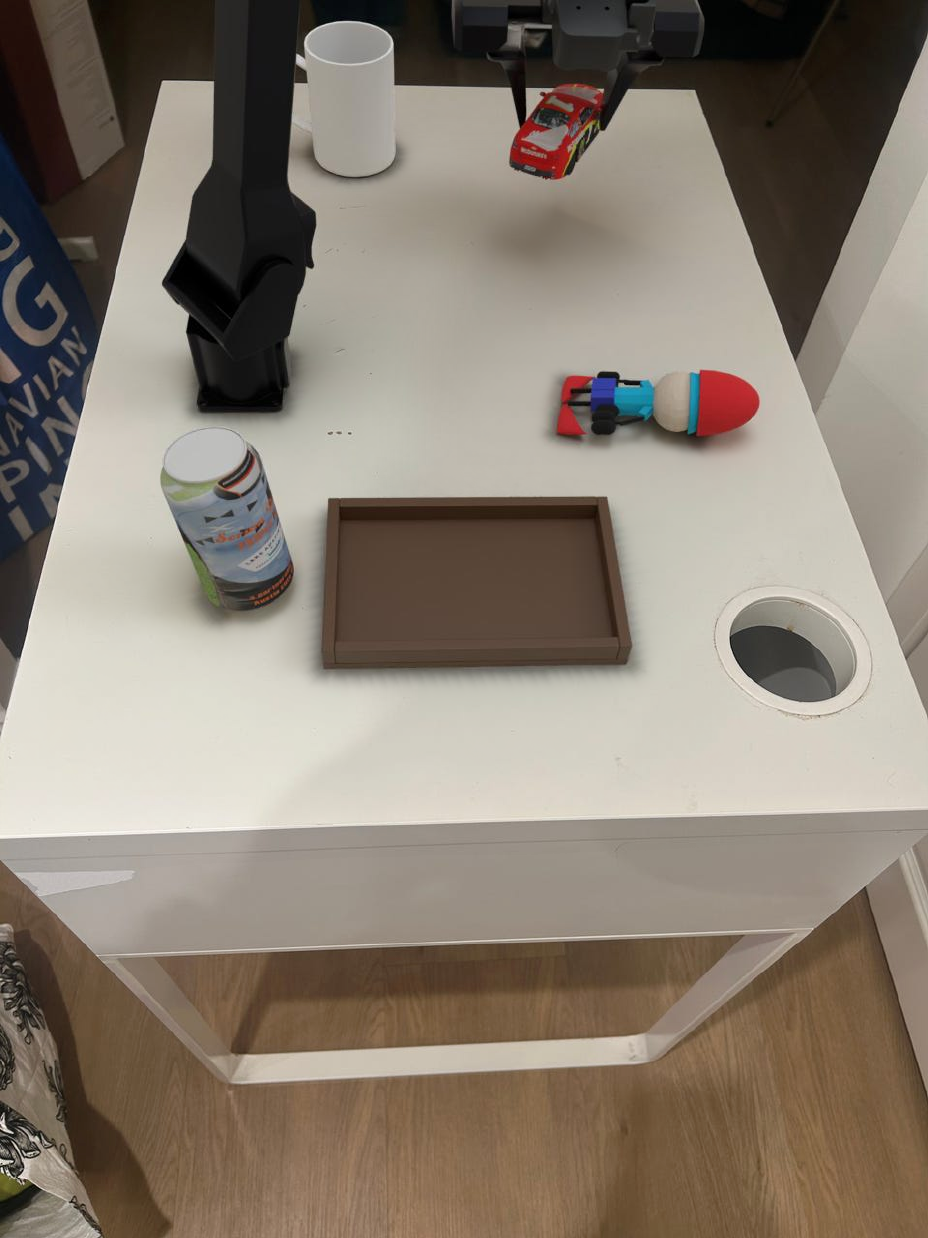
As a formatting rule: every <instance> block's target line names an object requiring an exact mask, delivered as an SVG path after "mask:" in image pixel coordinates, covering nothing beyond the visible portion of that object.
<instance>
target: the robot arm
mask: <svg viewBox="0 0 928 1238" xmlns="http://www.w3.org/2000/svg"><path fill="white" fill-rule="evenodd" d="M301 1H302V0H215V1H214V47H213V48H214V51H213V52H214V54H213V55H214V56H213V57H214V58H213V111H212V112H213V113H212V115H213V116H212V158H211V164H210V167H209V168H208V170H207V172H206V173H205V175H204V176H203V177H202V180H201V181H200V182H199V184H198V186H197V187H196V188H195V190H194V192H193V194H192V197H191V201H190V202H191V203H190V209H189V213H188V214H189V215H188V222H187V227H186V233H185V239H184V241H183V243H182V245H181V247H180V248H179V250H178V252H177V254H176V255H175V257H174V259H173V261H172V263H171V264H170V266H169V269H168V270H167V271H166V273H165V275H164V277H163V279H162V281H161V286H162V288H163V289H164V290H165V291H166V293H167V294H168V295H169V297H170V298H171V299H172V301H173V302H174V303H175V304H176V305H178V306H180V307H181V308H182V309H183V310H184V311H185V312H186V313H187V314H188V318H187V322H186V323H187V324H186V329H185V333H186V337H187V342H188V346H189V350H190V354H191V359H192V362H193V367H194V371H195V375H196V379H197V383H198V390H197V397H196V407H197V409H198V410H199V411H200V412H280V411H281V410H283V408H284V401H285V389H289V388H290V385H291V376H292V375H291V373H292V362H291V354H290V345H289V339H288V338H289V337H290V334H291V330H292V326H293V322H294V317H295V311H296V306H297V303H298V298H299V295H300V294H301V292H302V289H303V287H304V284H305V281H306V277H307V268H308V269H309V270H312V269H314V268H315V262H314V259H313V243H314V238H315V233H316V230H317V213H316V210H314V209H313V208H312V207H311V206H309V205H308V204H307V203H306V202H305V201H304V200H302V199H301V198H299V196H297V195H296V194H295V193H293V192H292V191H291V188H290V184H289V162H290V152H291V151H290V149H291V137H292V136H291V135H292V125H293V124H292V113H293V111H294V96H295V95H294V94H295V85H296V84H295V82H296V69H297V64H296V57H297V54H298V41H299V31H300V29H299V27H300V17H301V16H300V15H301V3H302V2H301ZM451 24H452V25H451V27H452V40H453V49H456V50H458V51H460V52H467V53H468V52H472V53H486V57H487V60H489V61H490V62H495V63H500V64H501V66H502V67H503V70H504V73H505V74H506V78H507V80H508V83H509V87H510V89H511V90H510V91H511V95H512V99H513V104H514V108H515V113H516V117H517V123H518V127H519V129H520V128H521V127H522V125H523V124H524V123H525V122H526V120H527V80H526V79H527V78H526V77H527V75H526V69H527V68H526V67H527V55H526V48H525V41H524V36H525V35H524V33H525V31H526V30H528V31H551V40H552V41H551V42H552V61H553V64H554V65H555V67H556V68H558V69H560V70H561V71H568V72H573V71H575V70H598V71H599V72H601V73H602V72H605V73H606V78H605V83H604V86H603V92H602V93H603V96H602V101H601V107H600V108H601V109H602V111H601V112H600V117H599V128H600V132H605V131H606V130H607V128H608V126H609V125H610V122H611V121H612V119H613V117H614V116H615V114H616V112H617V110H618V108H619V106H620V105H621V103H622V101H623V99H624V97H625V96H626V94H627V92H628V90H629V89H630V87H631V86H632V85H633V83H634V82H635V80H636V79H637V77H638V76H639V75H640V74H641V73H642V72H643V71H645V70H647V69H648V68H650V67H659V66H661V65H662V64H663V62H664V61H665V58H667V57H668V58H694V57H696V56H698V55H699V54H700V50H701V46H702V41H703V37H704V32H705V16H704V15H703V11H702V9H701V6H700V4H699V2H698V0H451Z"/></svg>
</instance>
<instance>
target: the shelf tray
mask: <svg viewBox="0 0 928 1238" xmlns="http://www.w3.org/2000/svg"><path fill="white" fill-rule="evenodd" d="M325 539H326V540H325V558H324V561H325V563H324V580H323V581H324V582H323V583H324V585H323V586H324V587H323V603H322V605H323V606H322V626H321V627H322V629H321V649H320V650H321V658H322V664H323V669H324V670H325V669H326V670H327V669H328V670H329V669H330V670H331V669H333V670H334V669H385V668H388V669H389V668H391V669H392V668H442V667H445V668H448V667H450V668H452V667H453V668H454V667H456V668H457V667H511V666H567V665H569V666H571V665H575V666H577V665H579V666H580V665H625V664H626V665H627V663H628V662H629V661H628V660H629V657H630V654H631V652H632V649H633V641H632V637H631V636H632V635H631V630H630V625H629V618H628V611H627V607H626V600H625V594H624V589H623V583H622V577H621V569H620V565H619V559H618V558H619V557H618V553H617V547H616V539H615V534H614V529H613V523H612V517H611V511H610V505H609V499H608V496H595V495H594V496H593V495H592V496H591V495H590V496H588V495H587V496H586V495H585V496H583V495H582V496H460V497H459V496H446V497H445V496H442V497H439V496H435V497H433V496H431V497H430V496H429V497H425V496H423V497H421V496H419V497H418V496H417V497H414V496H413V497H328V498H327V515H326V537H325Z"/></svg>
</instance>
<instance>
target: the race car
mask: <svg viewBox="0 0 928 1238" xmlns="http://www.w3.org/2000/svg"><path fill="white" fill-rule="evenodd" d="M539 96H540V97H542V98H541V100H540V101H539V102H538V103H537V105H536V106H535V108H534V109H533V110H532V112H531V113H530V115H529V116H528V118H526V122H525V123H524V124H523V125H522V127H521V128H520V127H519V129H518V131H517V132H516V133H515V135H514V138H513V140H512V143H511V146H510V151H509V160H508V164H509V167H510V168H512V169H513V170H514V172H515V171H516V172H521V173H524V174H526V175H531V176H534V177H537V178H541V179H543V180H553V181H555V180H561V179H564V178H565V177H566V176H571V175H572V173H573V171H574V169H575V166H576V164H577V163H578V162H579V161H580V160H581V158H582V157H583V156H584V154H585V152H586V151H587V150H588V148H590V146H591V145H592V144H593V141H594V140H595V139H596V138H597V136H598V135H599V133H600V132H601V131H600V128H599V117H600V112H601V111H602V109H601V108H600V107H601V101H602V96H603V92H602V91H601V90H599V89H598V88H596V87H594V86H590V85H587V84H582V83H565V84H562V85H558V86H556V87H554V88H553V89H552V91H549V92H546V91H540V92H539Z"/></svg>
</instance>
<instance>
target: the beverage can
mask: <svg viewBox="0 0 928 1238" xmlns="http://www.w3.org/2000/svg"><path fill="white" fill-rule="evenodd" d="M160 471H161V472H160V476H159V477H160V478H159V482H160V488H161V490H162V493H163V495H164V498H165V500H166V502H167V505H168V507H169V510H170V512H171V515H172V517H173V519H174V521H175V524H176V526H177V530H178V531H179V533H180V534H179V535H180V536H181V538H182V542H183V543H184V545H185V548H186V550H187V553H188V555H189V558H190V560H191V562H192V566H193V567H194V569H195V572H196V574H197V577H198V579H199V581H200V584H201V587H202V588H203V591H204V593H205V595H206V597H207V598H208V601H210V602H211V603H212V604H213V605H215V606H216V607H218V608H221V609H224V610H226V611H232V612H248V611H253V610H258V609H260V608H263V607H266V606H268V605H270V604H271V603H274V602H275V601H276V600H278V599H279V598H280V597H282V596H283V594H284V593H285V592H286V591H288V589H289V587H290V585H291V584H292V581H293V578H294V572H295V569H294V568H295V567H294V563H293V562H294V561H293V560H292V556H291V553H290V550H289V546H288V544H287V539H286V537H285V533H284V530H283V527H282V523H281V521H280V520H281V519H280V517H279V513H278V510H277V506H276V504H275V500H274V497H273V493H272V491H271V487H270V483H269V481H268V477H267V474H266V470H265V467H264V463H263V460H262V458H261V456H260V453H259V452H258V450H257V449H256V448H255V447H254V446H253V444H251V443H250V442H248V441H247V440H246V439H245V438H244V436H243V435H242V434H241V433H240V432H238V431H237V430H235V429H233V428H229V427H226V426H218V425H217V426H216V425H209V426H203V427H198V428H195V429H192V430H190V431H187V432H185V433H183V434H181V435H180V436H178V437H177V438H176V439H174V440H173V441H172V442H171V443H170V444H169V445H168V446H167V448H166V449H165V451H164V453H163V456H162V468H161V470H160Z"/></svg>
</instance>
